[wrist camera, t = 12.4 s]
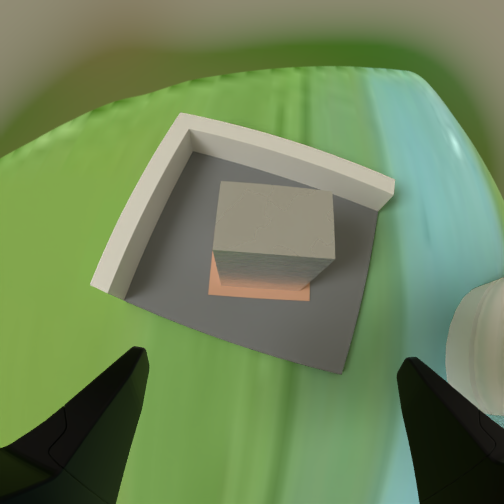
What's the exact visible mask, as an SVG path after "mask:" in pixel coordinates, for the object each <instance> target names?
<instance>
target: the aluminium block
mask: <svg viewBox="0 0 504 504" xmlns="http://www.w3.org/2000/svg"><path fill="white" fill-rule="evenodd" d="M213 254H214V258H215V262H216V266H217V271H218V275H219V279H220V283H221V286H232V287H245V288H259V289H274V290H290V291H300V290H301V289H302V288H303V287H305V286H306V285H307V284H308V283H309V282H310V281H311V280H313V279H314V278H315V277H316V276H317V275H318V274H319V273H320V272H322V271H323V270H324V269H325V268H326V267H327V266H328V265H329V264H330V263H331V262H333V261H334V260H335V234H334V212H333V195H332V191H324V190H316V189H307V188H298V187H289V186H279V185H268V184H256V183H244V182H230V181H221V184H220V191H219V199H218V207H217V215H216V224H215V232H214V241H213Z"/></svg>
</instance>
